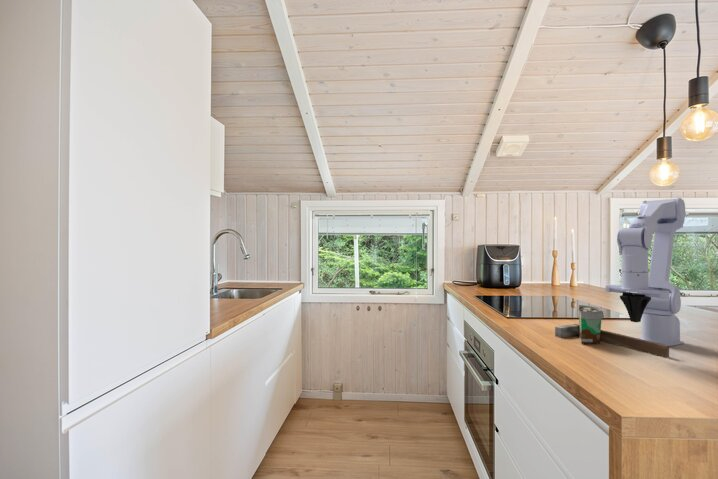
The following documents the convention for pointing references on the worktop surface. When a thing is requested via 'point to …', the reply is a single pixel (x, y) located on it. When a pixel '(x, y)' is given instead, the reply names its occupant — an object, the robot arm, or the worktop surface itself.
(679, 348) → the worktop surface
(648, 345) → the rail
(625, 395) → the worktop surface
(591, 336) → the food container
